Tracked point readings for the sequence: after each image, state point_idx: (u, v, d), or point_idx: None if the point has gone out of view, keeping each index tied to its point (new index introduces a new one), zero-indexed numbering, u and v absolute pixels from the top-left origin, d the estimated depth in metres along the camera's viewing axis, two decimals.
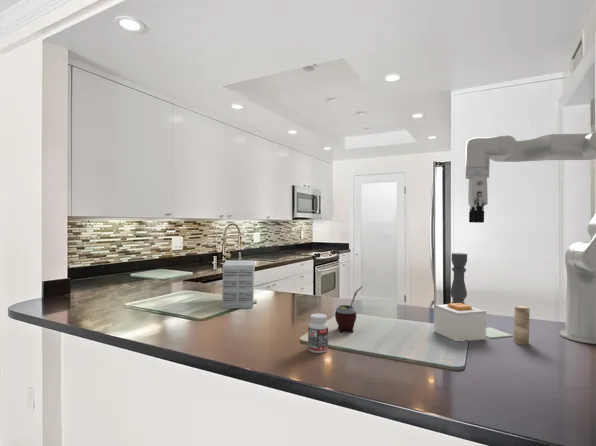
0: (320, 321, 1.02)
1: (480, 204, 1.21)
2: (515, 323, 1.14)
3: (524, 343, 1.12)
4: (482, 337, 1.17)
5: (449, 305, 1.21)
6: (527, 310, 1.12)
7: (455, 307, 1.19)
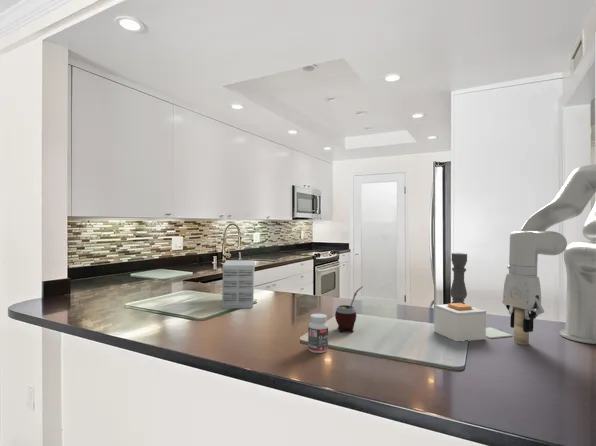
0: (320, 321, 1.02)
1: None
2: (515, 323, 1.14)
3: (524, 343, 1.12)
4: (482, 337, 1.17)
5: (449, 305, 1.21)
6: None
7: (455, 307, 1.19)
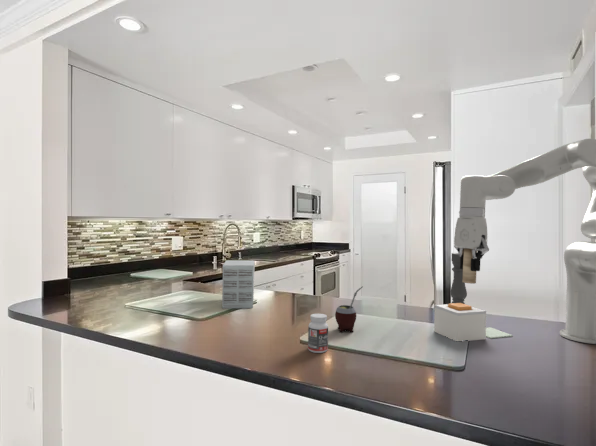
0: (320, 321, 1.02)
1: None
2: (464, 264, 1.19)
3: (471, 282, 1.17)
4: (482, 337, 1.17)
5: (449, 305, 1.21)
6: None
7: (455, 307, 1.19)
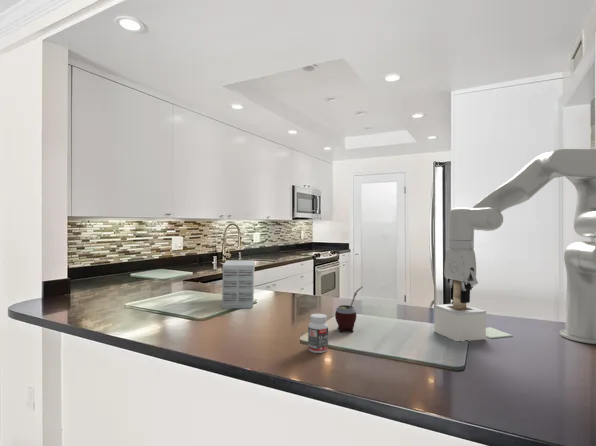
0: (320, 321, 1.02)
1: None
2: (453, 295, 1.20)
3: None
4: (482, 337, 1.17)
5: None
6: None
7: None
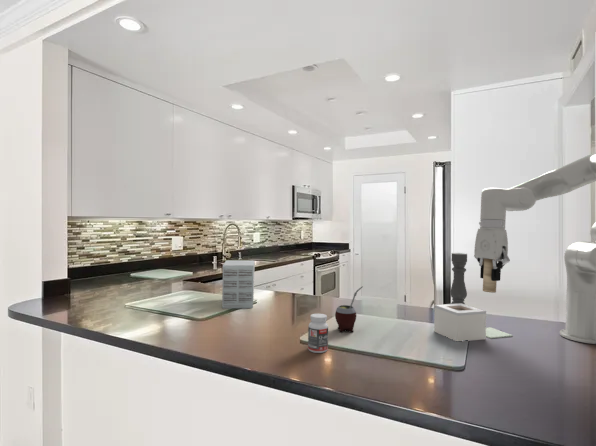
0: (320, 321, 1.02)
1: None
2: (484, 273, 1.23)
3: (491, 291, 1.21)
4: (482, 337, 1.17)
5: None
6: None
7: None
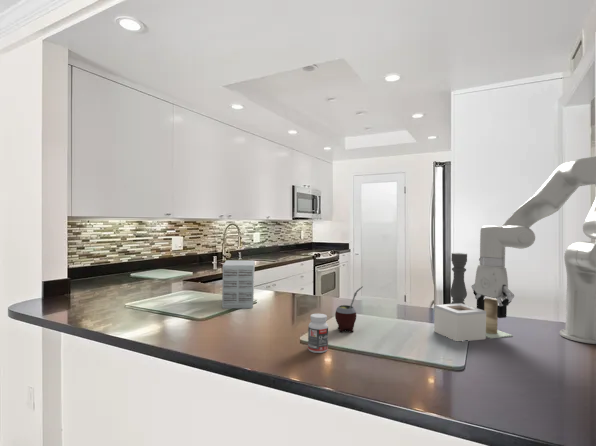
0: (320, 321, 1.02)
1: None
2: None
3: (493, 332, 1.21)
4: (482, 337, 1.17)
5: None
6: (495, 302, 1.21)
7: None
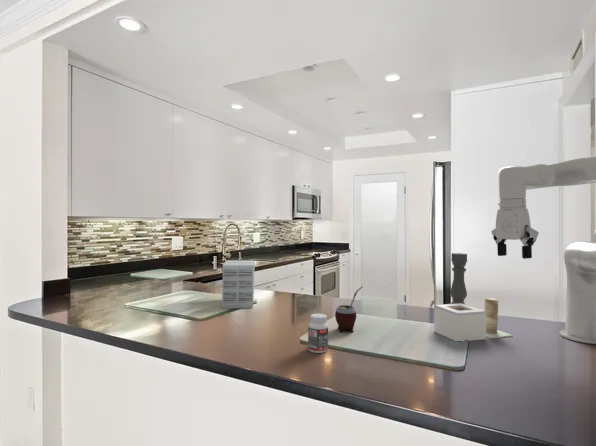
0: (320, 321, 1.02)
1: None
2: None
3: (492, 332, 1.21)
4: (482, 337, 1.17)
5: None
6: (496, 302, 1.21)
7: None
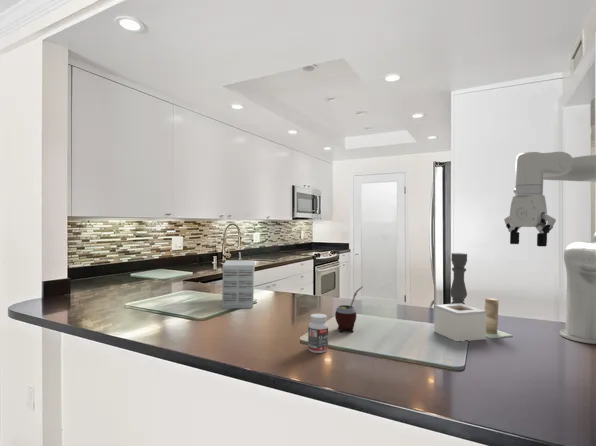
0: (320, 321, 1.02)
1: None
2: None
3: (492, 332, 1.21)
4: (482, 337, 1.17)
5: None
6: (496, 302, 1.21)
7: None
